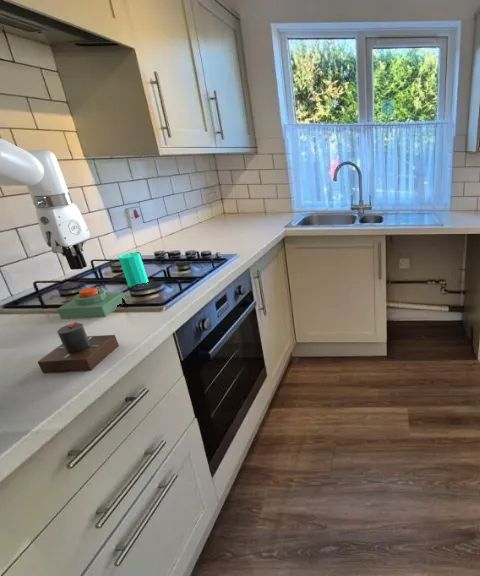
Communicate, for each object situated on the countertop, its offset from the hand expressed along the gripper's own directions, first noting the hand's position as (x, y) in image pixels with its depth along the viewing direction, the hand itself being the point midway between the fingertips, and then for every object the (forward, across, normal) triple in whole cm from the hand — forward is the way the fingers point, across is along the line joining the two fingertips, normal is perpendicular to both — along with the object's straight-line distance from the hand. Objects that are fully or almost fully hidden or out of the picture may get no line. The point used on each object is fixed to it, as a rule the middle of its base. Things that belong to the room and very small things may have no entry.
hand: (79, 267), depth 100 cm
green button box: (+13, 0, 0) cm, 13 cm away
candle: (+13, +19, -2) cm, 23 cm away
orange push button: (+9, 0, 0) cm, 9 cm away
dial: (+10, -26, -14) cm, 31 cm away
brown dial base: (+13, -26, -14) cm, 32 cm away
